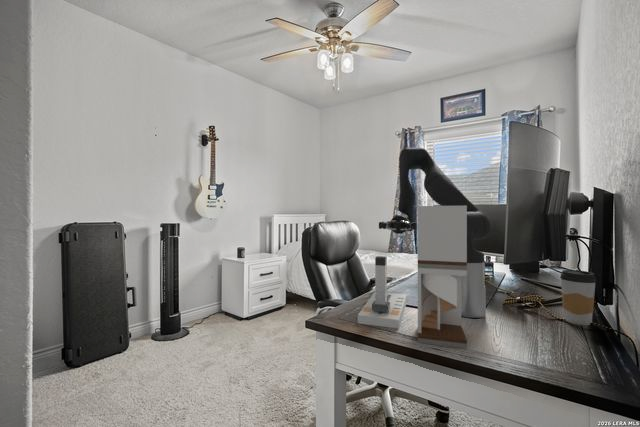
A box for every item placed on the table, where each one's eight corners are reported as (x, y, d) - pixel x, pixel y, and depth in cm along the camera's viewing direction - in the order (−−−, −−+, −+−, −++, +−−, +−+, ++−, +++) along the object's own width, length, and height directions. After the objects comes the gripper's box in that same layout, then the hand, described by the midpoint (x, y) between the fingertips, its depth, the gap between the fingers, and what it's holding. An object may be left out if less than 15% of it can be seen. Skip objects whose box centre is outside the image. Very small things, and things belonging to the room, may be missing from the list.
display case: (417, 342, 77) (417, 206, 77) (417, 327, 88) (417, 206, 87) (466, 348, 74) (466, 205, 74) (460, 331, 84) (460, 206, 84)
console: (407, 301, 113) (407, 294, 113) (398, 328, 87) (398, 319, 87) (374, 298, 117) (374, 291, 117) (357, 323, 91) (357, 314, 91)
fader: (390, 308, 95) (390, 256, 95) (388, 312, 91) (388, 258, 91) (374, 306, 97) (374, 255, 97) (371, 310, 93) (371, 257, 93)
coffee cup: (596, 321, 91) (596, 271, 91) (596, 329, 85) (596, 276, 85) (561, 315, 97) (561, 268, 97) (558, 322, 91) (558, 272, 91)
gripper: (383, 215, 131) (376, 216, 116) (417, 215, 126) (415, 216, 110) (383, 232, 131) (376, 235, 116) (417, 233, 126) (415, 236, 111)
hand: (395, 226), depth 113 cm, fingers open, 8 cm apart
